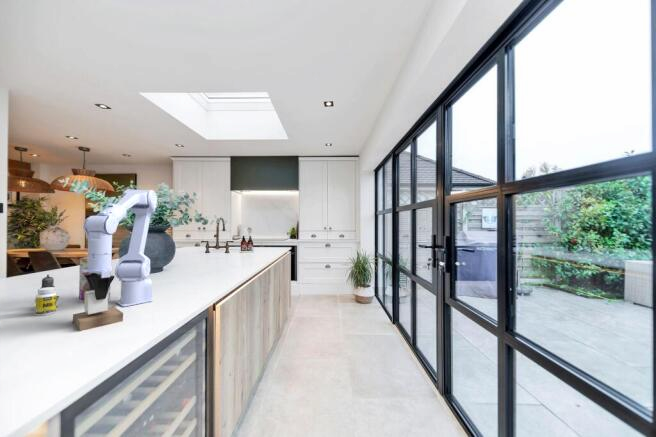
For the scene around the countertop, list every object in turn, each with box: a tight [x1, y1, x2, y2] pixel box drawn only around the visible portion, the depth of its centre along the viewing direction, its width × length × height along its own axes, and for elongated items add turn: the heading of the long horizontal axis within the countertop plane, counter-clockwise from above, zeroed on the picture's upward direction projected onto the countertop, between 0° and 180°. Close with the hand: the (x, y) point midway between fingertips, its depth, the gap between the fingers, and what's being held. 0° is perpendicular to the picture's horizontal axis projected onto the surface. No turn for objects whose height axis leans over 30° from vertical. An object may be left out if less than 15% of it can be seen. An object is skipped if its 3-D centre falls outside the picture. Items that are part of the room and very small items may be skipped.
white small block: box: [84, 290, 109, 314], centre depth 82 cm, size 5×5×6 cm
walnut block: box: [72, 306, 124, 332], centre depth 82 cm, size 10×10×3 cm
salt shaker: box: [34, 274, 60, 309], centre depth 94 cm, size 6×6×12 cm
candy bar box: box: [78, 256, 112, 301], centre depth 104 cm, size 11×5×16 cm, turn 71°
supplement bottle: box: [34, 286, 58, 317], centre depth 88 cm, size 5×5×8 cm
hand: (98, 297), depth 82 cm, fingers closed on white small block, 5 cm apart
